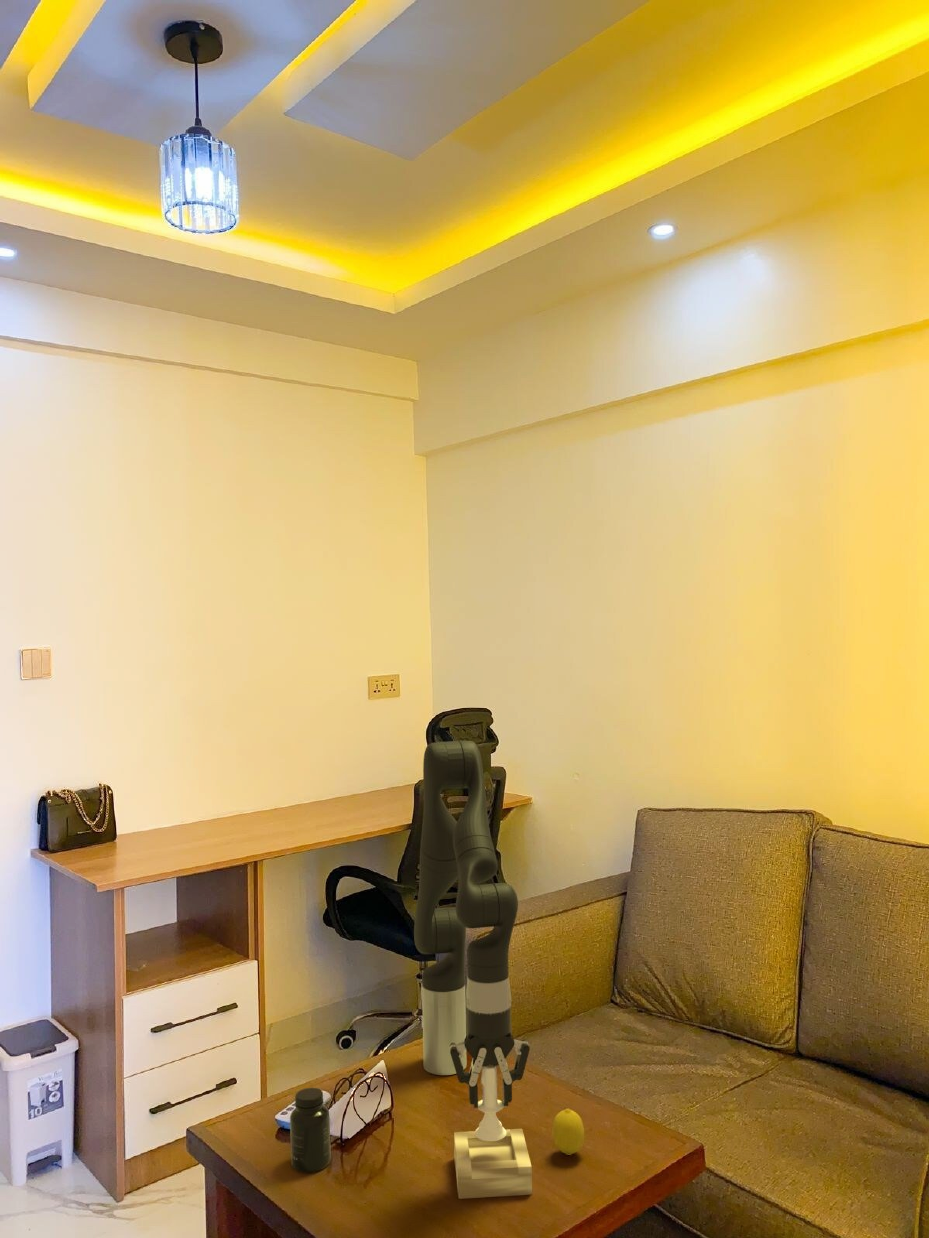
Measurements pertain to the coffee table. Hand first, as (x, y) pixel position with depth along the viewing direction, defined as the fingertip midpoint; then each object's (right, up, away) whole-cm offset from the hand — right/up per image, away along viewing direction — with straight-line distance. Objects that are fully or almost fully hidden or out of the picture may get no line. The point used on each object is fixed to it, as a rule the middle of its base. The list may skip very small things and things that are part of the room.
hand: (490, 1104), depth 160 cm
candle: (0, -5, 0) cm, 5 cm away
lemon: (+14, -12, +6) cm, 19 cm away
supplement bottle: (-31, -13, +5) cm, 34 cm away
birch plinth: (0, -12, 0) cm, 12 cm away
